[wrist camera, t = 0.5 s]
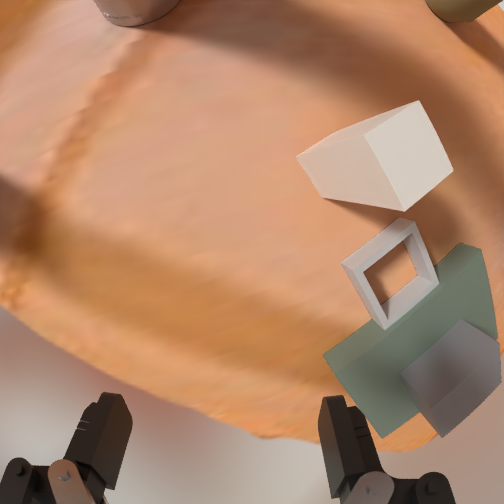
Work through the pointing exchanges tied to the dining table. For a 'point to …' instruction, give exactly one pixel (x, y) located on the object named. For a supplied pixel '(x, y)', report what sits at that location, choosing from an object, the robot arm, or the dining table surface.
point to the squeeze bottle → (460, 9)
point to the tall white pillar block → (379, 160)
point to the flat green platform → (420, 337)
